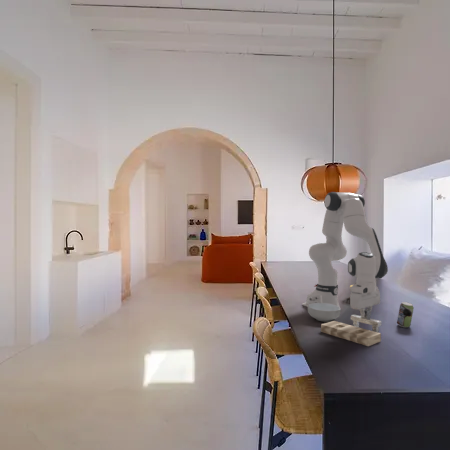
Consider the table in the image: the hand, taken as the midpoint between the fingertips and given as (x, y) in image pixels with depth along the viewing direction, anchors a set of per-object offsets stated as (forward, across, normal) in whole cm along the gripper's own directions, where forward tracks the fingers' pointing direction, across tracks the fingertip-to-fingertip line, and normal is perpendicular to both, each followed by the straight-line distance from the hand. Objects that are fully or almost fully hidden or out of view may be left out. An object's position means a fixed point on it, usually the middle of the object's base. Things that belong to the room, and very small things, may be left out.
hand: (365, 316), depth 168 cm
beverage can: (+7, -22, +8) cm, 25 cm away
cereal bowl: (+8, 0, -24) cm, 25 cm away
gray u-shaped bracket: (+7, 0, 0) cm, 7 cm away
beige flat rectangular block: (+7, +13, 0) cm, 15 cm away
